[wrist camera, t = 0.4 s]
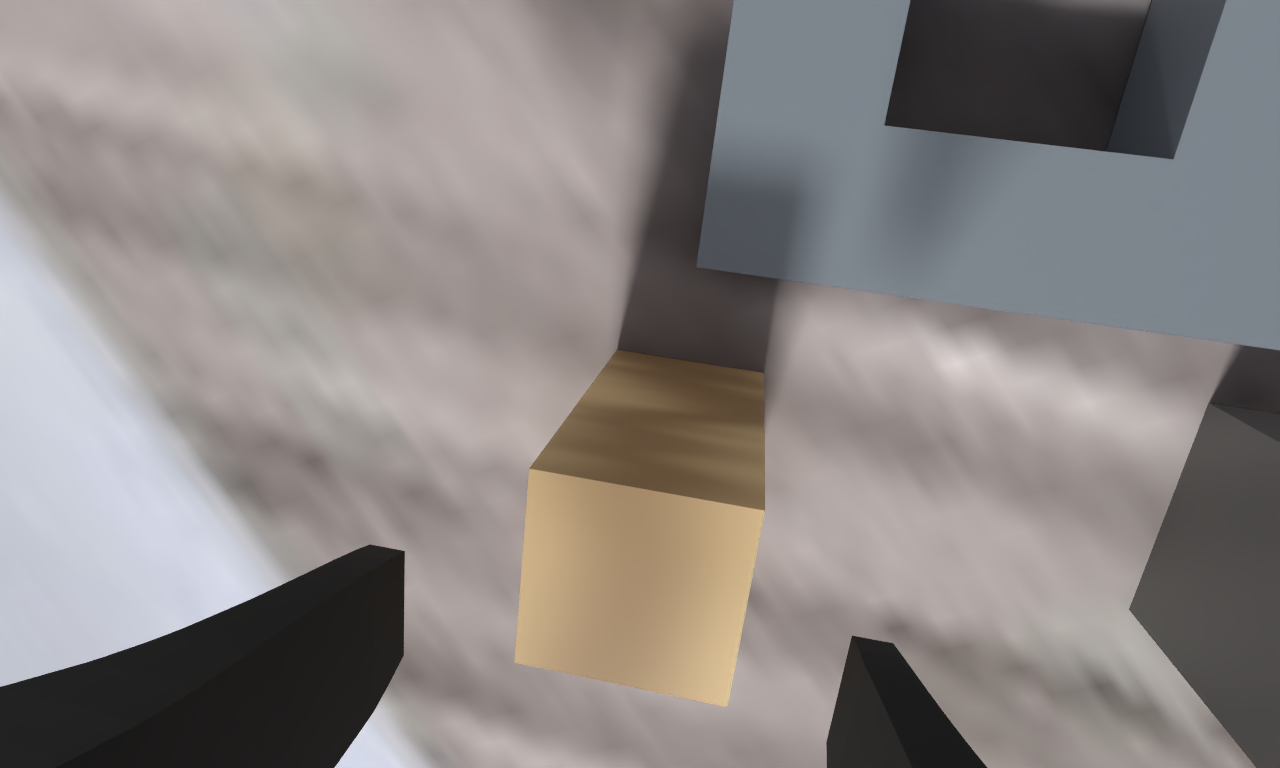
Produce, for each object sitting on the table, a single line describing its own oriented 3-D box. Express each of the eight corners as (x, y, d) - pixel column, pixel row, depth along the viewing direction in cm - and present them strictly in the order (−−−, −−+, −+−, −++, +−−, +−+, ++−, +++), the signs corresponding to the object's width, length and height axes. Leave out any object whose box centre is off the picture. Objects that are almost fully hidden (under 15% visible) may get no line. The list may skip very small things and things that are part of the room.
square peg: (764, 373, 20) (765, 510, 12) (739, 506, 21) (727, 706, 13) (617, 349, 20) (529, 468, 13) (602, 482, 21) (514, 662, 14)
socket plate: (1437, -305, 14) (1613, -424, 11) (1206, 319, 18) (1292, 352, 15) (790, -337, 15) (797, -451, 12) (705, 250, 19) (696, 267, 16)
